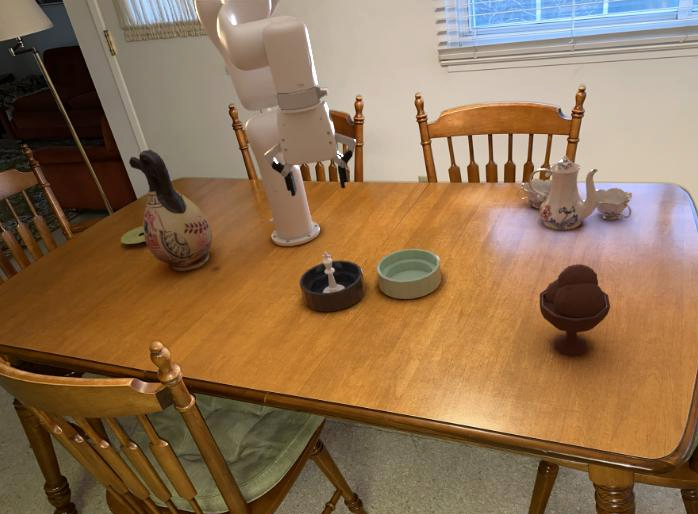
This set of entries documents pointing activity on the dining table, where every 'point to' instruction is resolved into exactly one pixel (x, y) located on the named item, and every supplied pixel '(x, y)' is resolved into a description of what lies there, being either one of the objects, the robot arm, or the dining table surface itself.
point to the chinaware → (572, 197)
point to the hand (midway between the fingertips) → (318, 189)
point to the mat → (134, 236)
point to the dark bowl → (318, 281)
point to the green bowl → (409, 273)
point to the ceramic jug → (172, 218)
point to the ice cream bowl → (574, 307)
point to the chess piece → (330, 275)
